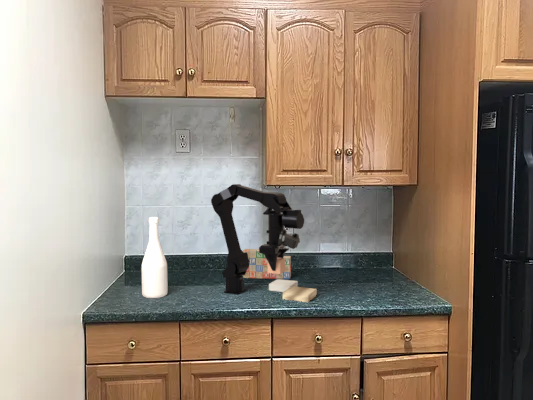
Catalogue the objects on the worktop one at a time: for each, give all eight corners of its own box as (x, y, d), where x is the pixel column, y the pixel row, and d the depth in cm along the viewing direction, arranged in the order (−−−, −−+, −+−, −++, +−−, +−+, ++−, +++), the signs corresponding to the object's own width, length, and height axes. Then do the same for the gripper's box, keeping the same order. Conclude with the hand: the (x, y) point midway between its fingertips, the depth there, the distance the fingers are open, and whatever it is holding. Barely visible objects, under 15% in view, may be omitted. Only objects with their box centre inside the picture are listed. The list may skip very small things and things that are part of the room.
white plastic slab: (268, 291, 182) (268, 283, 182) (277, 286, 190) (277, 279, 190) (290, 293, 178) (290, 286, 178) (297, 288, 187) (297, 281, 186)
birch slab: (282, 300, 169) (282, 292, 169) (292, 293, 178) (292, 286, 178) (308, 303, 165) (308, 295, 165) (316, 296, 174) (316, 288, 174)
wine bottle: (153, 290, 181) (152, 215, 179) (172, 293, 176) (171, 216, 175) (136, 296, 172) (135, 217, 171) (156, 300, 168) (154, 219, 166)
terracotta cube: (267, 272, 167) (267, 259, 167) (272, 270, 172) (272, 257, 171) (280, 274, 165) (280, 260, 165) (285, 271, 170) (285, 257, 170)
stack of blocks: (291, 276, 207) (291, 249, 206) (290, 279, 201) (290, 251, 200) (244, 274, 210) (244, 248, 209) (242, 278, 203) (242, 250, 203)
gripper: (288, 231, 156) (288, 276, 157) (305, 225, 173) (305, 266, 174) (258, 229, 160) (258, 273, 161) (277, 224, 177) (277, 264, 178)
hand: (276, 269), depth 168 cm, fingers closed on terracotta cube, 5 cm apart
